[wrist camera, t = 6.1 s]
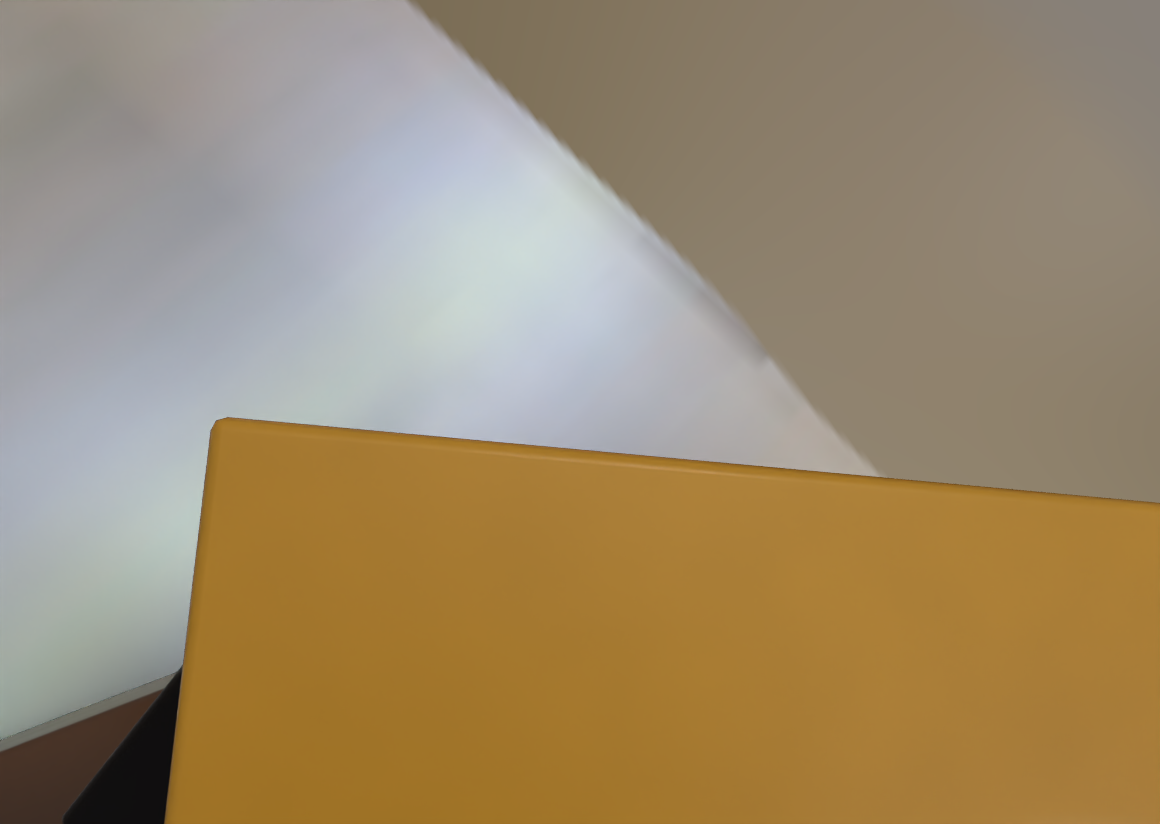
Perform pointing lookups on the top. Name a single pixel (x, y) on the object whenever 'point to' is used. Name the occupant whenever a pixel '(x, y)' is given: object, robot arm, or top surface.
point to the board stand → (65, 755)
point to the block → (654, 642)
